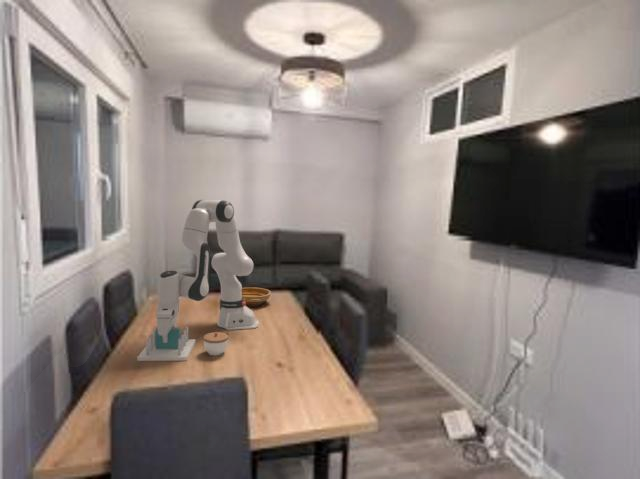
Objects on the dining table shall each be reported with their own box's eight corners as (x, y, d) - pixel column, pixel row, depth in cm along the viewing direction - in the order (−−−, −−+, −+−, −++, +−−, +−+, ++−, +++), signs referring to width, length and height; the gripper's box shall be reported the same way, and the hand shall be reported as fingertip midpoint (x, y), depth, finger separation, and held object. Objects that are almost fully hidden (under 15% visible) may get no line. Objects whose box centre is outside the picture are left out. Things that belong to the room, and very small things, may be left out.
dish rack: (195, 342, 184) (195, 325, 183) (186, 360, 165) (186, 341, 164) (151, 342, 181) (151, 324, 180) (137, 360, 162) (137, 341, 161)
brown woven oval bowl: (231, 298, 263) (231, 286, 262) (266, 297, 270) (267, 285, 269) (235, 311, 235) (235, 298, 234) (274, 309, 242) (274, 297, 241)
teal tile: (180, 346, 175) (180, 327, 174) (179, 348, 172) (179, 329, 171) (157, 346, 173) (157, 327, 172) (155, 348, 171) (155, 329, 170)
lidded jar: (205, 359, 167) (206, 338, 166) (201, 349, 176) (201, 330, 175) (230, 355, 172) (231, 335, 171) (224, 346, 181) (225, 327, 180)
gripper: (167, 301, 180) (166, 329, 182) (154, 315, 160) (154, 346, 162) (181, 301, 181) (180, 329, 183) (170, 315, 161) (170, 346, 163)
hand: (168, 337), depth 172 cm, fingers open, 8 cm apart
